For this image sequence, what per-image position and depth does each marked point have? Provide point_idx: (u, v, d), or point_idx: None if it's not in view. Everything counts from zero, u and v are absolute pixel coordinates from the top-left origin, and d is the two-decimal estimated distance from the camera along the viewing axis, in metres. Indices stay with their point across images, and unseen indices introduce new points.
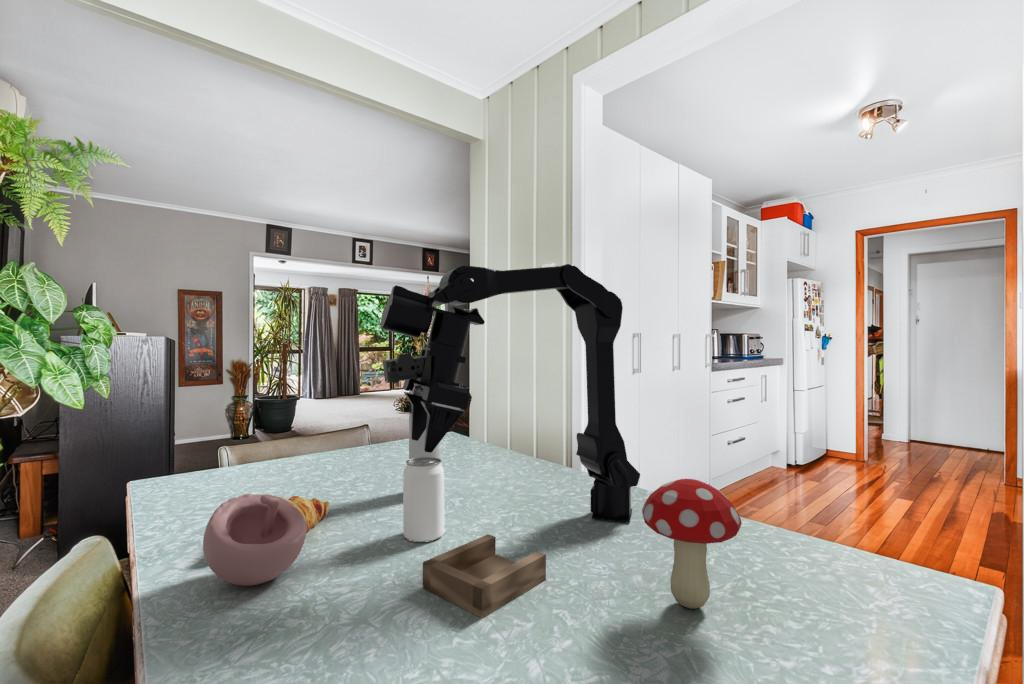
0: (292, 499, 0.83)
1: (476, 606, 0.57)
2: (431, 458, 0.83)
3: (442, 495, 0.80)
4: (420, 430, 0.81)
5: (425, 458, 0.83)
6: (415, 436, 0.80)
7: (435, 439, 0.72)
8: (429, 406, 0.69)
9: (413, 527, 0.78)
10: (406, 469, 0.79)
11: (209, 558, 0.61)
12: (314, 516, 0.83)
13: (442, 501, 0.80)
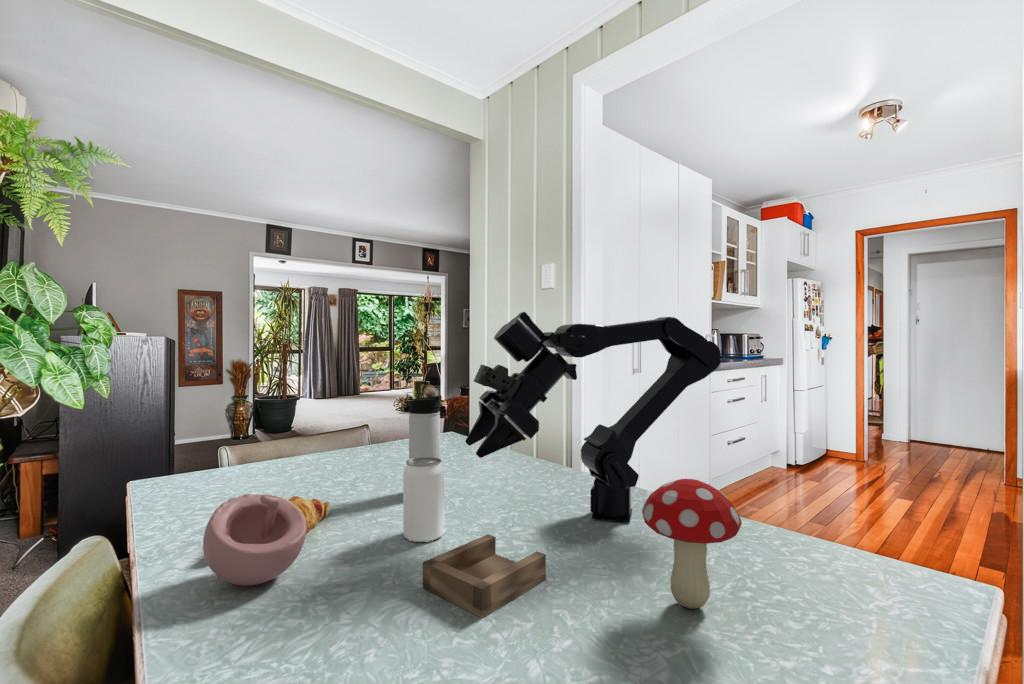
0: (292, 499, 0.83)
1: (476, 606, 0.57)
2: (431, 458, 0.83)
3: (442, 495, 0.80)
4: (476, 438, 0.87)
5: (425, 458, 0.83)
6: (469, 441, 0.87)
7: (490, 448, 0.78)
8: (502, 417, 0.76)
9: (413, 527, 0.78)
10: (406, 469, 0.79)
11: (209, 558, 0.61)
12: (314, 516, 0.83)
13: (442, 501, 0.80)
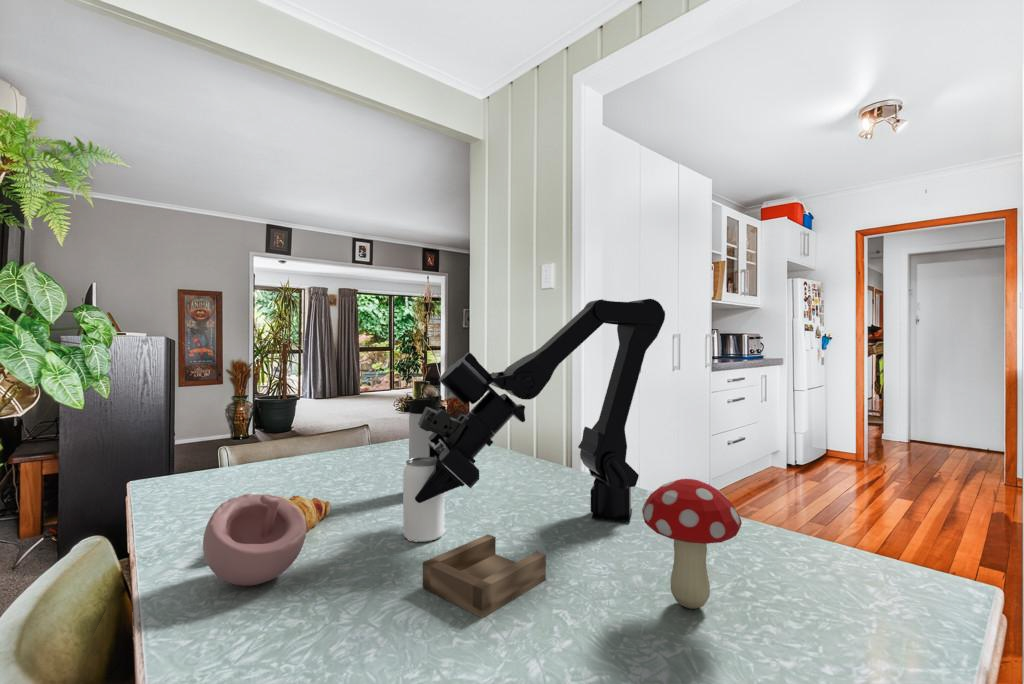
0: (292, 499, 0.83)
1: (476, 606, 0.57)
2: (431, 458, 0.83)
3: (442, 495, 0.80)
4: None
5: (425, 458, 0.83)
6: None
7: (428, 494, 0.77)
8: (439, 464, 0.75)
9: (413, 527, 0.78)
10: (406, 469, 0.79)
11: (209, 558, 0.61)
12: (314, 516, 0.83)
13: (442, 501, 0.80)
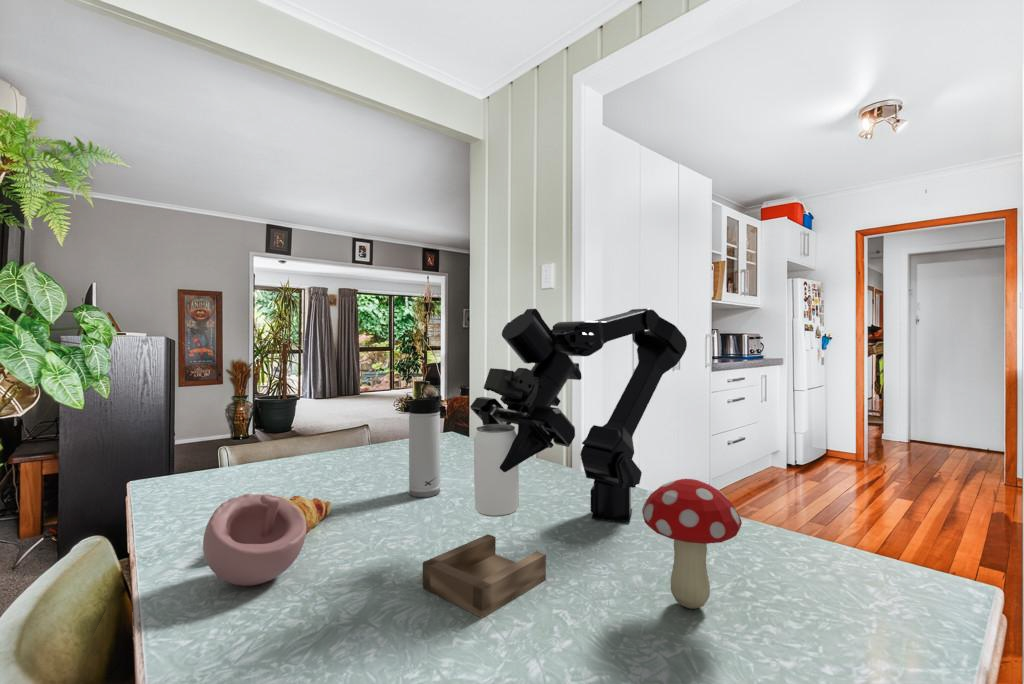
0: (293, 499, 0.83)
1: (476, 606, 0.57)
2: (493, 425, 0.76)
3: None
4: None
5: (488, 426, 0.75)
6: None
7: (515, 460, 0.70)
8: (533, 425, 0.69)
9: (497, 500, 0.70)
10: (483, 437, 0.70)
11: (209, 558, 0.61)
12: (315, 516, 0.83)
13: None
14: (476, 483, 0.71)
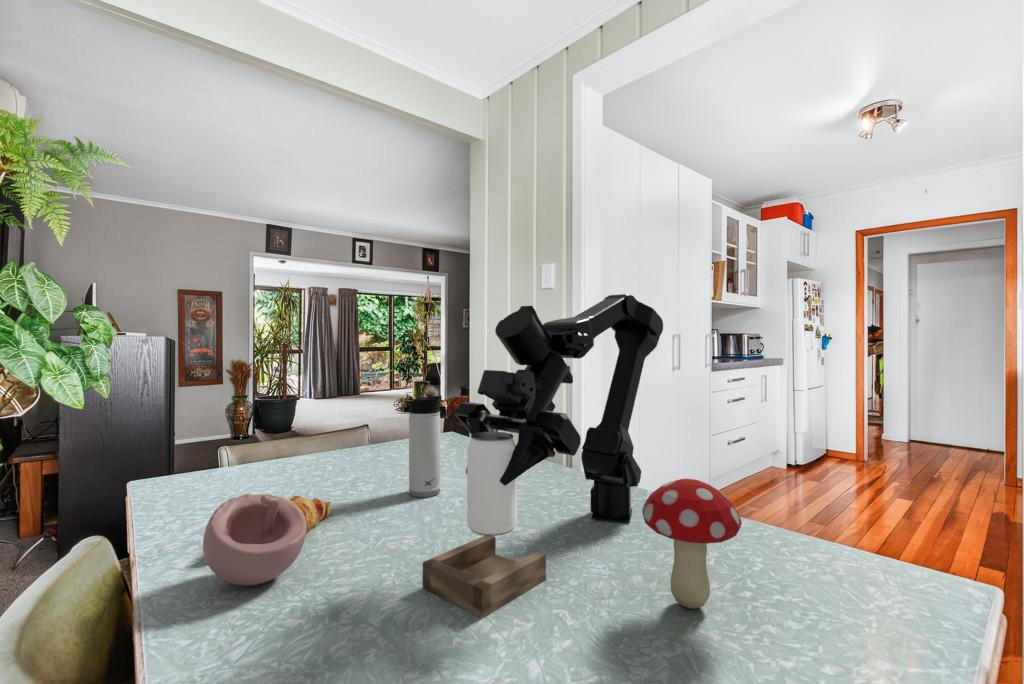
0: (293, 499, 0.83)
1: (476, 606, 0.57)
2: (486, 433, 0.68)
3: None
4: None
5: (480, 434, 0.68)
6: None
7: (516, 472, 0.63)
8: (538, 432, 0.63)
9: (496, 517, 0.62)
10: (481, 447, 0.63)
11: (209, 558, 0.61)
12: (315, 516, 0.83)
13: None
14: (471, 499, 0.64)
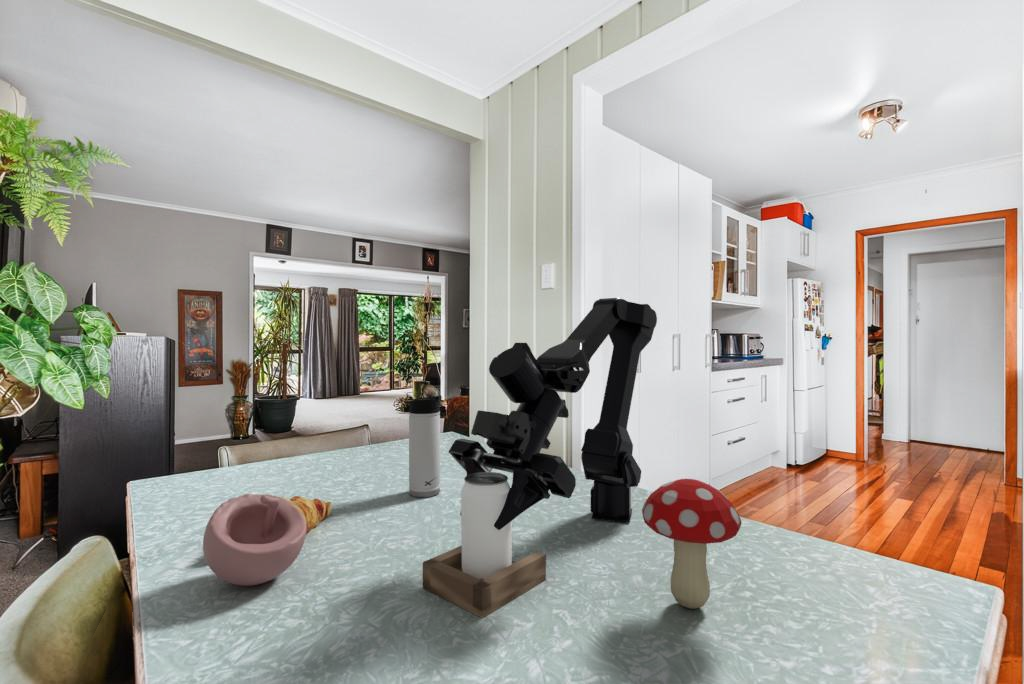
0: (293, 499, 0.83)
1: (476, 606, 0.57)
2: (480, 473, 0.67)
3: None
4: None
5: (474, 475, 0.67)
6: None
7: (510, 516, 0.63)
8: (532, 476, 0.62)
9: (491, 562, 0.62)
10: (475, 491, 0.62)
11: (209, 558, 0.61)
12: (315, 516, 0.83)
13: None
14: (465, 543, 0.63)
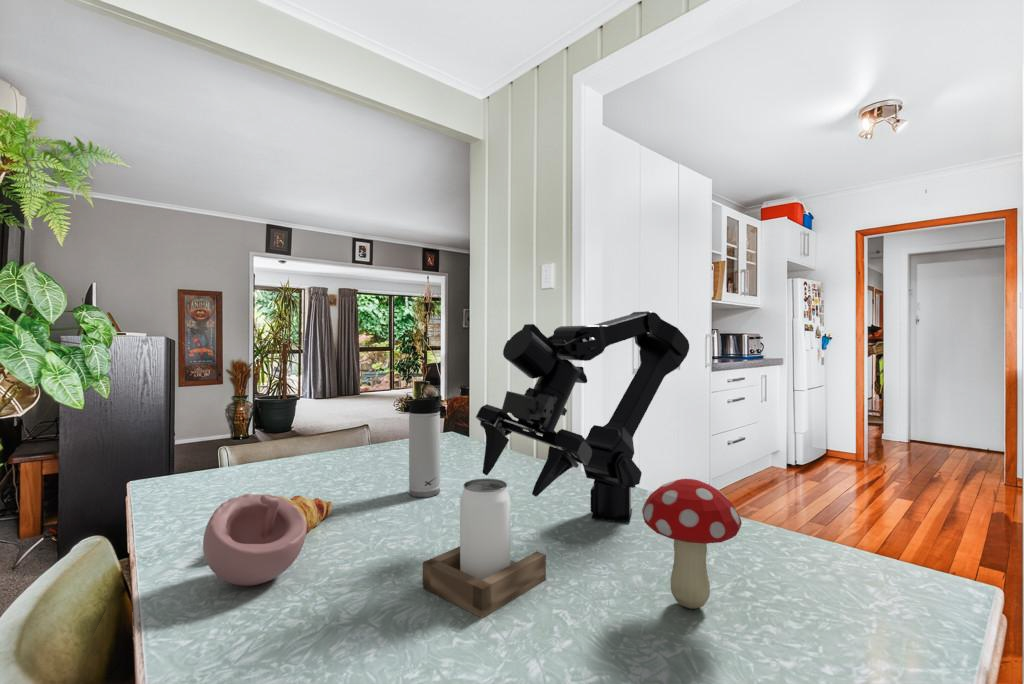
0: (294, 499, 0.83)
1: (476, 606, 0.57)
2: (479, 480, 0.67)
3: None
4: (491, 465, 0.78)
5: (473, 481, 0.67)
6: (486, 470, 0.78)
7: (545, 484, 0.73)
8: (567, 455, 0.71)
9: (490, 569, 0.62)
10: (475, 498, 0.62)
11: (209, 558, 0.61)
12: (315, 516, 0.83)
13: None
14: (464, 550, 0.63)
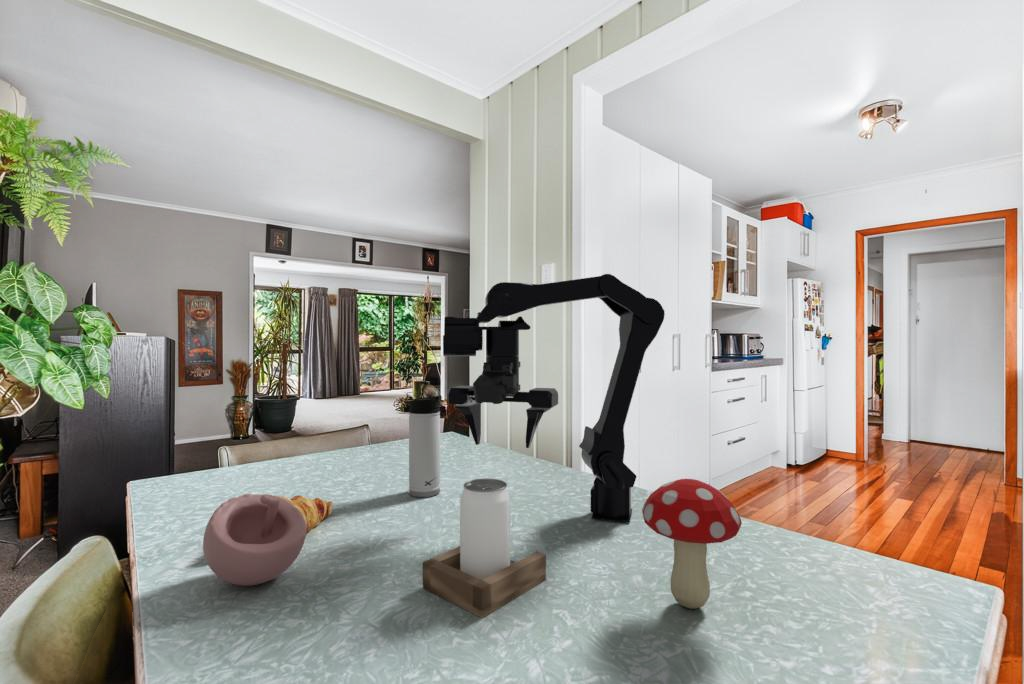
0: (294, 498, 0.83)
1: (476, 606, 0.57)
2: (479, 480, 0.67)
3: None
4: (479, 434, 0.89)
5: (473, 481, 0.67)
6: (477, 441, 0.88)
7: (533, 435, 0.86)
8: (544, 411, 0.83)
9: (490, 569, 0.62)
10: (475, 498, 0.62)
11: (209, 558, 0.61)
12: (316, 516, 0.83)
13: None
14: (464, 550, 0.63)
